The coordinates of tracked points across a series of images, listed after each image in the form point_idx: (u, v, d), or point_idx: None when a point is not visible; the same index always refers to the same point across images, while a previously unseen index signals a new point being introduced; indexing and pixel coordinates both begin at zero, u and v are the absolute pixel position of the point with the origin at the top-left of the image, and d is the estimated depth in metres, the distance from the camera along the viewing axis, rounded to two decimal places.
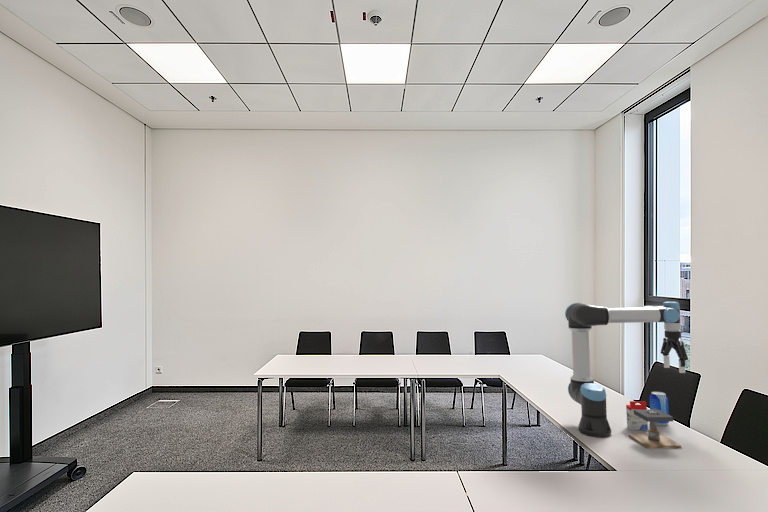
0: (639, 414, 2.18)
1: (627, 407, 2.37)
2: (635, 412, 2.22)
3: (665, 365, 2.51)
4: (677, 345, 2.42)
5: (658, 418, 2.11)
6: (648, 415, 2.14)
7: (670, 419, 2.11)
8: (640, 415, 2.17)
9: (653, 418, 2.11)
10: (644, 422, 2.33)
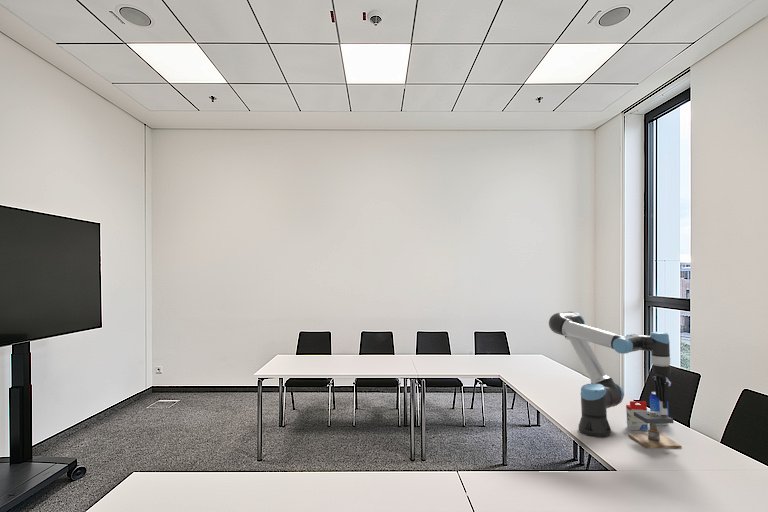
0: (639, 416, 2.18)
1: (627, 407, 2.37)
2: (635, 414, 2.22)
3: None
4: None
5: (658, 420, 2.11)
6: (648, 417, 2.14)
7: (670, 421, 2.11)
8: (640, 417, 2.17)
9: (653, 420, 2.11)
10: (644, 422, 2.33)
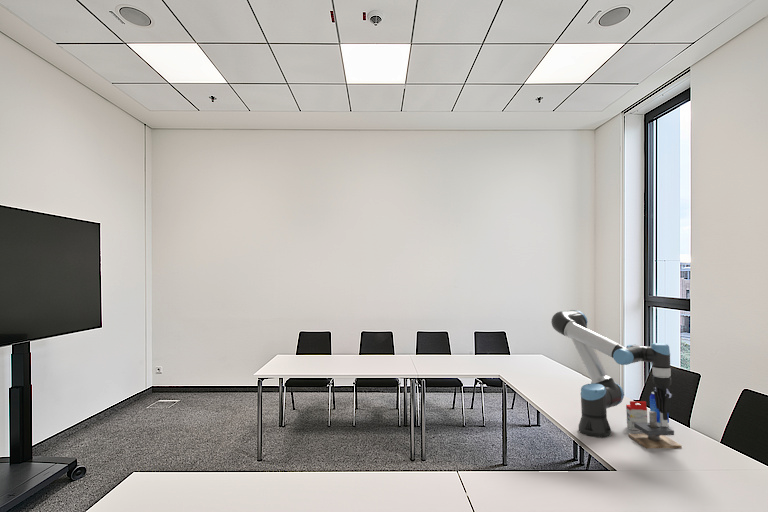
0: (640, 427, 2.18)
1: (627, 407, 2.37)
2: (635, 425, 2.22)
3: None
4: None
5: (659, 432, 2.11)
6: (649, 429, 2.14)
7: (671, 433, 2.11)
8: (641, 428, 2.17)
9: (654, 432, 2.11)
10: (644, 422, 2.33)
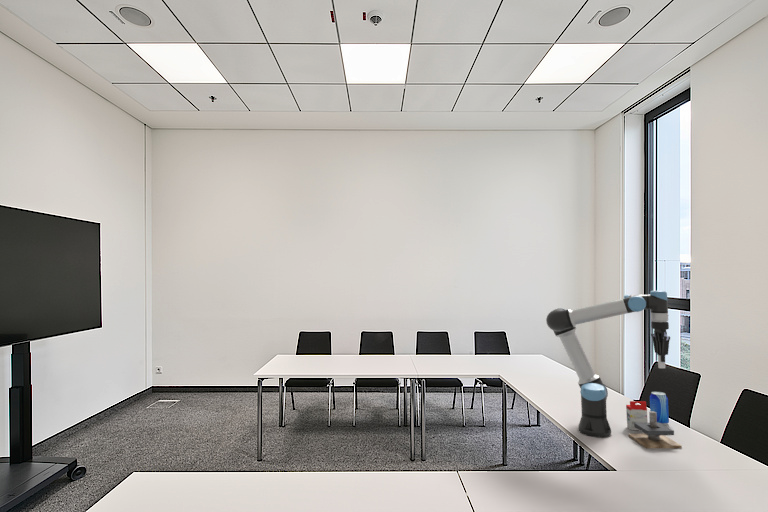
0: (640, 427, 2.18)
1: (627, 407, 2.37)
2: (635, 425, 2.22)
3: None
4: (663, 338, 2.29)
5: (659, 432, 2.11)
6: (649, 429, 2.14)
7: (671, 433, 2.11)
8: (641, 428, 2.17)
9: (654, 432, 2.11)
10: (644, 422, 2.33)
